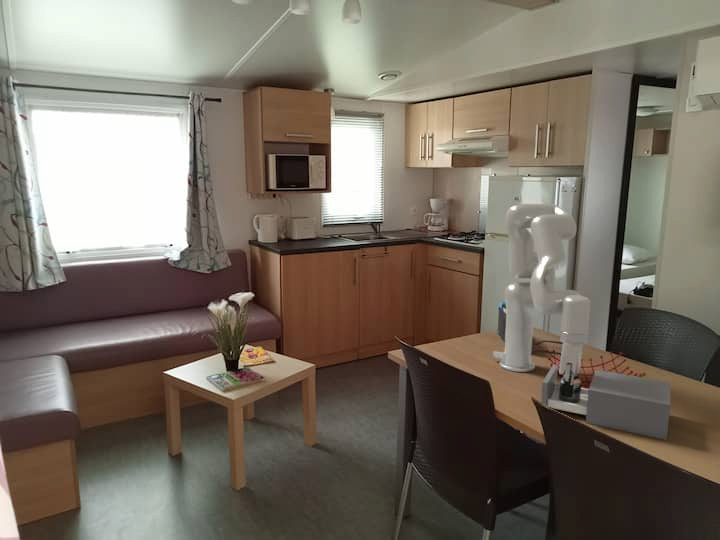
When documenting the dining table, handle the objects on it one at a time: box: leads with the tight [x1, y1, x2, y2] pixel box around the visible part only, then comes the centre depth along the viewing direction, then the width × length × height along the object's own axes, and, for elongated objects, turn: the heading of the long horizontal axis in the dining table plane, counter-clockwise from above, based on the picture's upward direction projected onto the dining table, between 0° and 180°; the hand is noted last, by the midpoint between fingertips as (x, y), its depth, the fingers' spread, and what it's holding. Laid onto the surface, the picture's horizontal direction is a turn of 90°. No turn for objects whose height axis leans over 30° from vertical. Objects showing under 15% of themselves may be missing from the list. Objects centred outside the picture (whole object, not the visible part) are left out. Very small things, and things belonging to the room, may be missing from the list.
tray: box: [540, 364, 589, 416], centre depth 158 cm, size 19×17×8 cm
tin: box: [559, 377, 582, 403], centre depth 159 cm, size 6×6×6 cm
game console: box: [497, 301, 506, 343], centre depth 221 cm, size 28×6×15 cm, turn 1°
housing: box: [585, 369, 671, 441], centre depth 151 cm, size 20×18×10 cm
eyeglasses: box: [531, 339, 563, 356], centre depth 210 cm, size 15×15×5 cm
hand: (569, 390), depth 159 cm, fingers open, 9 cm apart
